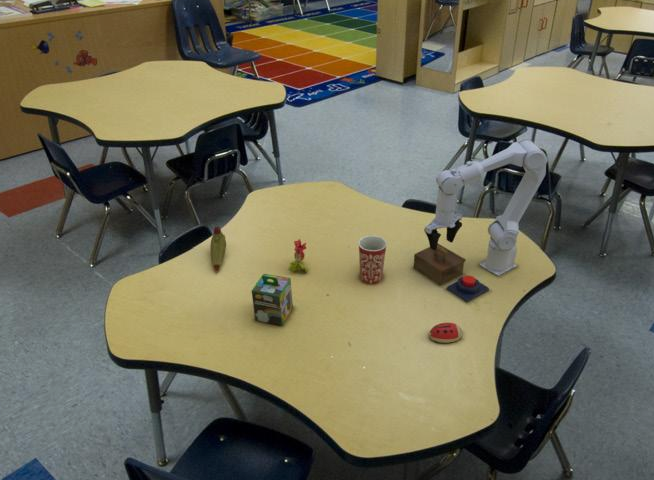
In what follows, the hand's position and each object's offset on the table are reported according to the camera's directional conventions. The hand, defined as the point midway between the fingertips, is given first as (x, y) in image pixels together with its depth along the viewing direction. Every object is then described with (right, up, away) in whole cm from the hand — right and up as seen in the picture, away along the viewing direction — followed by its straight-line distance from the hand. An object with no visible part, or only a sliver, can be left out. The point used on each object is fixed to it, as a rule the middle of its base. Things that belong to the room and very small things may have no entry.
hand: (441, 244), depth 189 cm
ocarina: (-74, -5, +15) cm, 76 cm away
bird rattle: (-46, -8, +9) cm, 48 cm away
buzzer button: (+7, -12, -5) cm, 15 cm away
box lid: (0, -4, +3) cm, 5 cm away
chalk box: (-53, -21, -12) cm, 59 cm away
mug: (-22, -10, +5) cm, 25 cm away
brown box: (0, -9, +5) cm, 10 cm away
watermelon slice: (-4, -26, -22) cm, 34 cm away
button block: (+7, -14, -4) cm, 17 cm away
